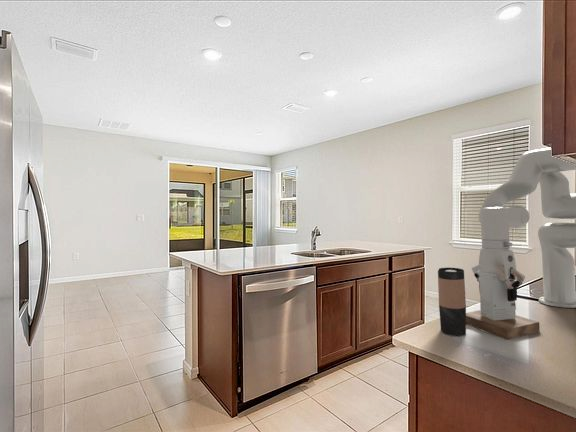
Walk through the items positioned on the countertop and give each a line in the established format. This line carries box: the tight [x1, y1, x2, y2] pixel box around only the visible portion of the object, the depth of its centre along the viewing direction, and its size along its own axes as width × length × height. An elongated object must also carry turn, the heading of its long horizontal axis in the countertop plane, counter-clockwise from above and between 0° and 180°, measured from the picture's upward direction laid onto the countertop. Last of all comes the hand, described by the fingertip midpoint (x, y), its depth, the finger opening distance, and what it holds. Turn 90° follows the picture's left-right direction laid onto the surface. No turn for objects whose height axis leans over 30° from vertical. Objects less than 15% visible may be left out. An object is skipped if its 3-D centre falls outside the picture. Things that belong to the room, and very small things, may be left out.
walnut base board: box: [466, 309, 540, 340], centre depth 103 cm, size 14×16×3 cm
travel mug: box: [437, 267, 467, 337], centre depth 101 cm, size 8×8×20 cm
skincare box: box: [479, 272, 517, 321], centre depth 103 cm, size 8×6×15 cm
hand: (497, 297), depth 103 cm, fingers open, 9 cm apart
